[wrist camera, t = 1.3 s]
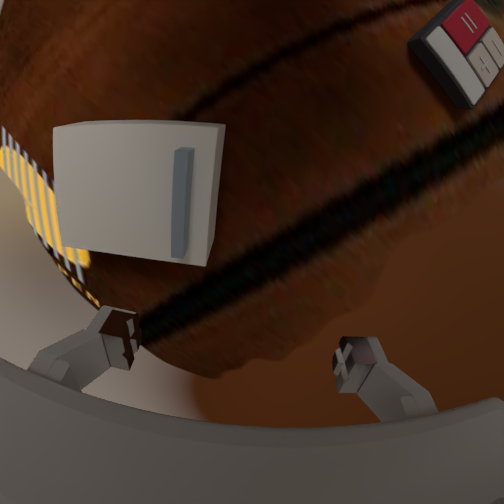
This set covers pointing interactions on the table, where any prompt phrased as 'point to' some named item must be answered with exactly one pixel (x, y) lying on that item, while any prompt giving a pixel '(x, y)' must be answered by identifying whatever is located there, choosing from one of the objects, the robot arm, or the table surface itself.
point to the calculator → (460, 51)
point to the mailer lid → (136, 189)
